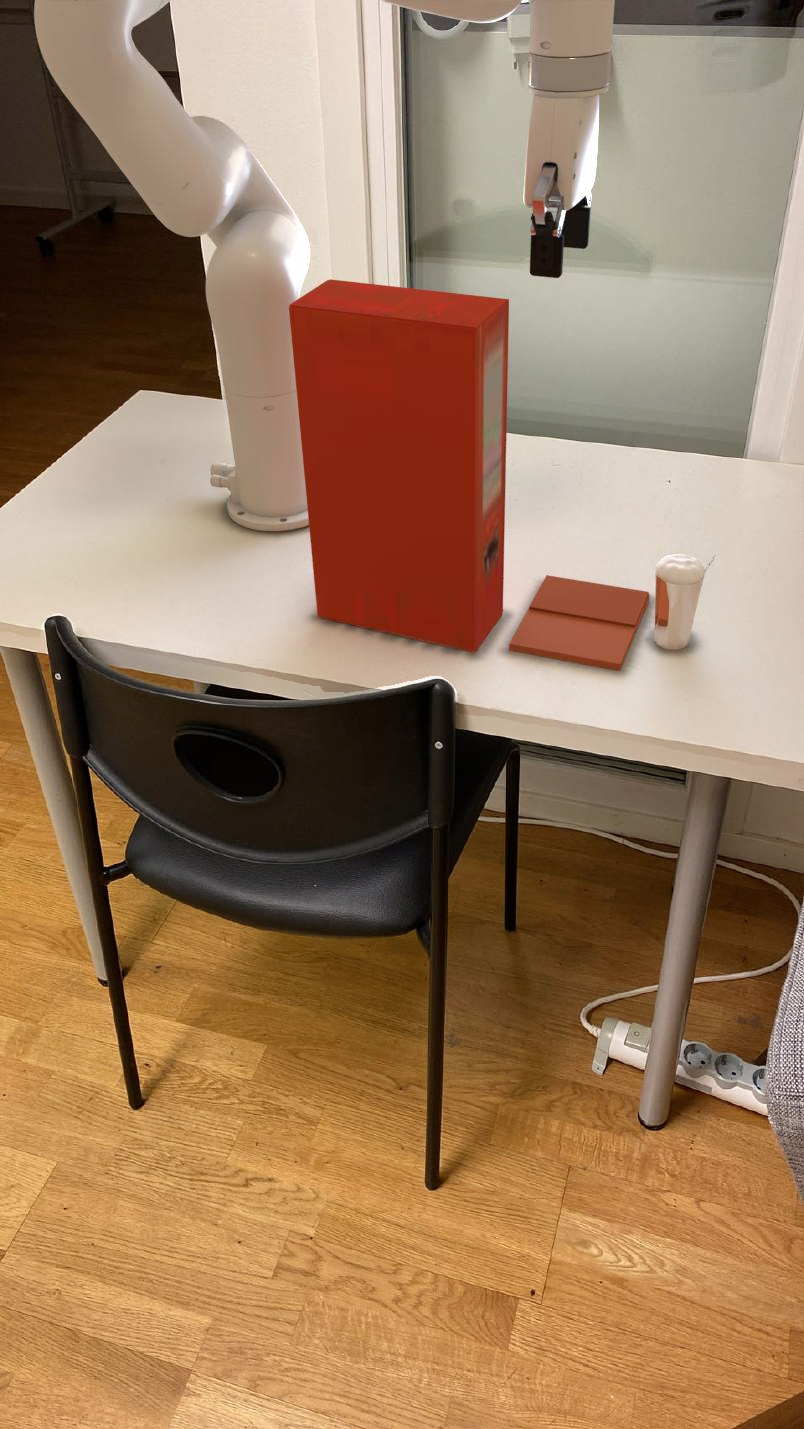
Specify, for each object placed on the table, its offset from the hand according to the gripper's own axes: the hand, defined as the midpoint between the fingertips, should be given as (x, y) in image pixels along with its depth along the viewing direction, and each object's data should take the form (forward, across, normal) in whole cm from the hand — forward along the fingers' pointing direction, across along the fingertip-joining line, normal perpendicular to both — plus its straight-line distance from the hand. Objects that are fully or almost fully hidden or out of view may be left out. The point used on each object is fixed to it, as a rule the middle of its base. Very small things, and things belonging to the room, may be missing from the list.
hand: (559, 261), depth 120 cm
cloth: (+28, +23, +10) cm, 38 cm away
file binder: (+28, +27, -6) cm, 39 cm away
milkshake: (+28, +23, +20) cm, 41 cm away
